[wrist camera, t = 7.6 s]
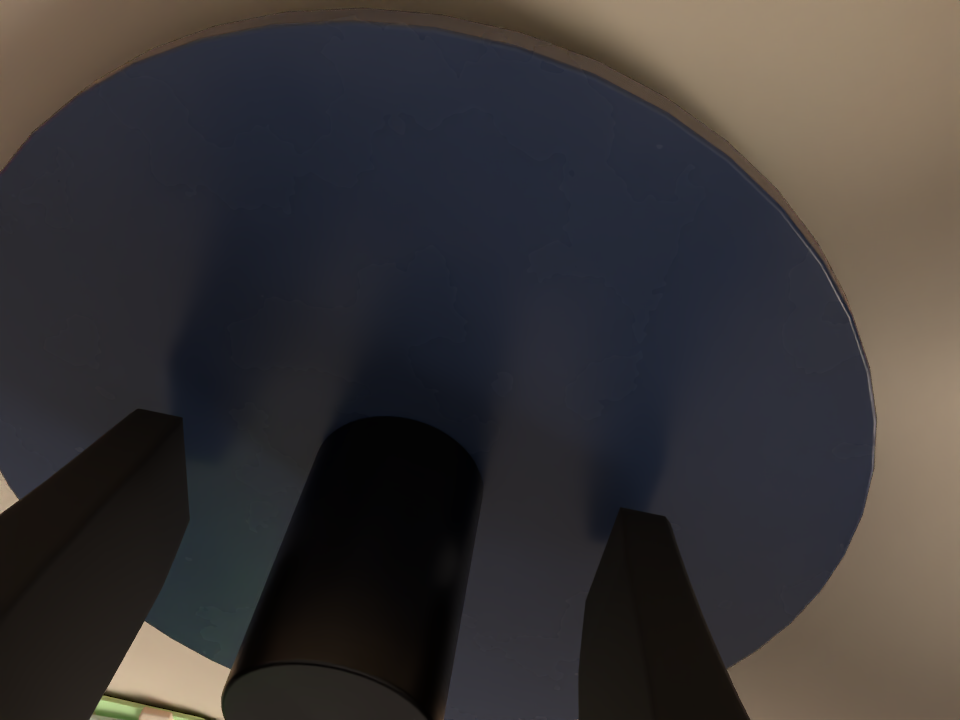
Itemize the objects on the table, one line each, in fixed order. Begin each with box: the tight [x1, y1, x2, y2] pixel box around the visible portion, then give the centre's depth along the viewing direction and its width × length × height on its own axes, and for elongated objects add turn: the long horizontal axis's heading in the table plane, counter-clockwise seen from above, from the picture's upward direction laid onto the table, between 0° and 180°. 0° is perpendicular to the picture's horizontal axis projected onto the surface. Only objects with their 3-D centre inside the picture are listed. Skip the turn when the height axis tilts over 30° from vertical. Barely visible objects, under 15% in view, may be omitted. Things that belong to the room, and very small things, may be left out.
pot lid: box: [0, 8, 877, 720], centre depth 12 cm, size 13×13×5 cm
